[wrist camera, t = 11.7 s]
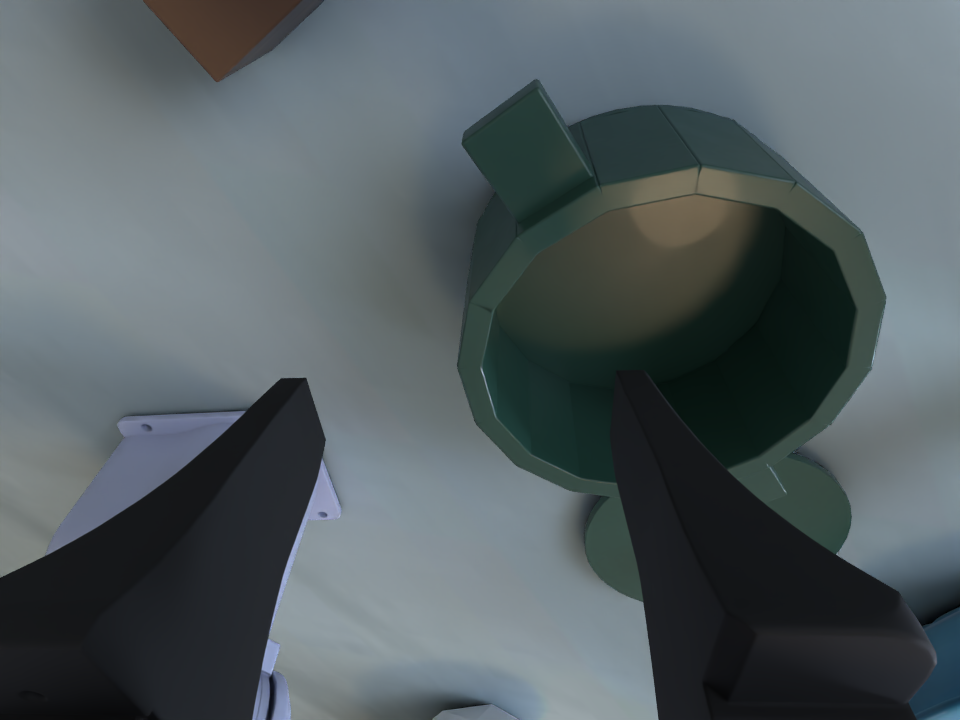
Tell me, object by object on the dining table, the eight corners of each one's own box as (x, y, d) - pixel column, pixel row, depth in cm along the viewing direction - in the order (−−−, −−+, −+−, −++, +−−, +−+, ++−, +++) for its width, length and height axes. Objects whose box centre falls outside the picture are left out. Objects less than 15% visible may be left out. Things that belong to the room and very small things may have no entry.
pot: (599, 464, 30) (616, 570, 25) (357, 179, 21) (313, 257, 17) (863, 354, 25) (945, 458, 20) (686, -73, 17) (757, -64, 12)
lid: (649, 614, 38) (665, 697, 34) (536, 499, 32) (539, 586, 28) (872, 547, 33) (923, 636, 29) (792, 393, 27) (842, 481, 22)
